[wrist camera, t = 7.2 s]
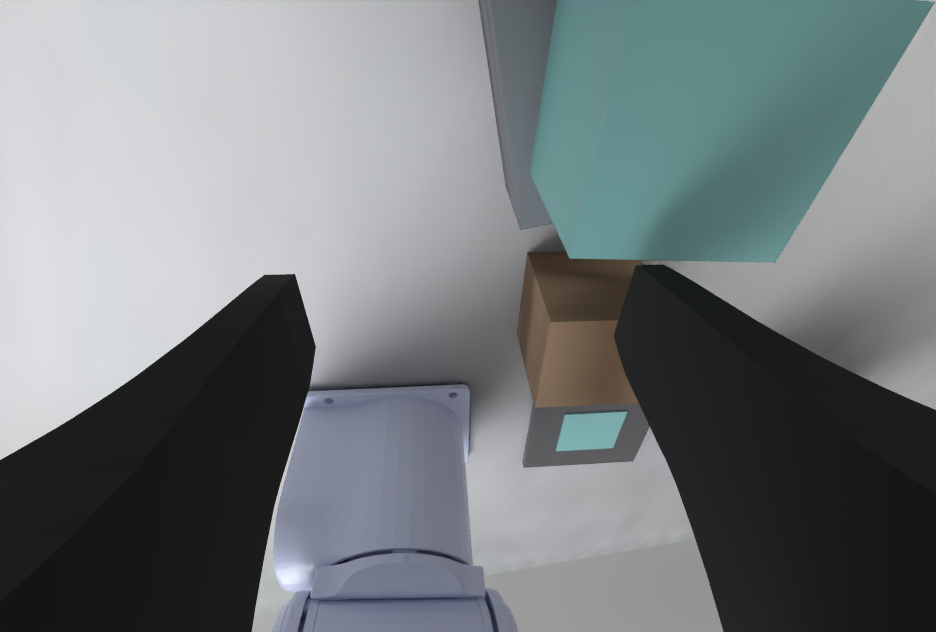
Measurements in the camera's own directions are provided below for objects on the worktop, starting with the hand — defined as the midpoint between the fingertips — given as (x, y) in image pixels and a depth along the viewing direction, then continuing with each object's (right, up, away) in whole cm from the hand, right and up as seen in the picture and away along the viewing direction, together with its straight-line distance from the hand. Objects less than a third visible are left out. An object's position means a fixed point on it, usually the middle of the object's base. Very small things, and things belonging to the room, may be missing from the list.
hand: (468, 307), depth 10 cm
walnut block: (+5, +1, +12) cm, 13 cm away
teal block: (+5, +6, +3) cm, 8 cm away
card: (+8, -8, +19) cm, 22 cm away
